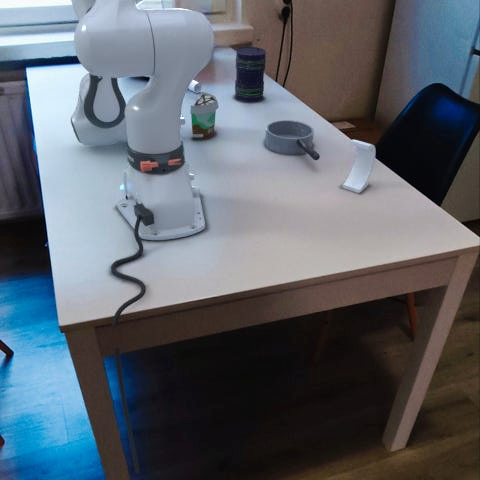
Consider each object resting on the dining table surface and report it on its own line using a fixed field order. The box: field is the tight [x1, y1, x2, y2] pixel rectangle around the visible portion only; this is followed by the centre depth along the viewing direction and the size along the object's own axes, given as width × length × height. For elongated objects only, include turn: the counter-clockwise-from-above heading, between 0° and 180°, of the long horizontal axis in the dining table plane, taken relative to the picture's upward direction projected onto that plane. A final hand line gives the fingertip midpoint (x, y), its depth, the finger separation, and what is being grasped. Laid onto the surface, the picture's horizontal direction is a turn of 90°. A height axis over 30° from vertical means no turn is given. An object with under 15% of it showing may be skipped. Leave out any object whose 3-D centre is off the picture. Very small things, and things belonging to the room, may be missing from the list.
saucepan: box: [264, 119, 315, 156], centre depth 138 cm, size 13×13×4 cm
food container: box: [189, 91, 219, 141], centre depth 139 cm, size 12×6×10 cm, turn 168°
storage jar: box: [234, 38, 267, 104], centre depth 162 cm, size 10×10×18 cm
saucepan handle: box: [297, 138, 321, 161], centre depth 129 cm, size 12×2×2 cm, turn 20°
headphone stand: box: [341, 139, 376, 194], centre depth 118 cm, size 5×6×12 cm
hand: (183, 119), depth 138 cm, fingers closed
